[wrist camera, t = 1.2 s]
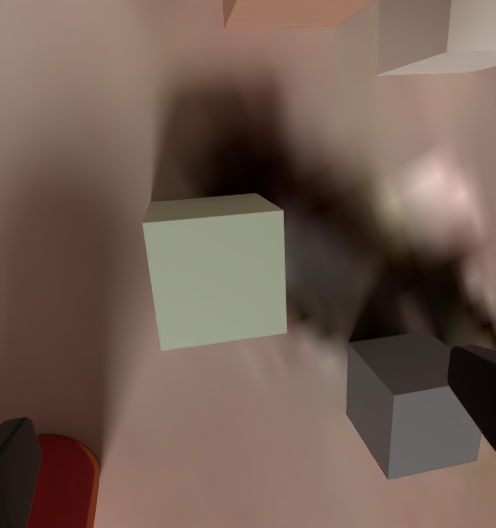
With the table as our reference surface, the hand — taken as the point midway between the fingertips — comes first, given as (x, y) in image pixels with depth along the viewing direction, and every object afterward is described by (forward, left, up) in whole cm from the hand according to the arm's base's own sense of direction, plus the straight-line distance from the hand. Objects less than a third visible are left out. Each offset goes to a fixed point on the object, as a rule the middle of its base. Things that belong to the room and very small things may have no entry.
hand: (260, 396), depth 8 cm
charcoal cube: (-10, +9, -12) cm, 18 cm away
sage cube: (0, 0, -12) cm, 12 cm away
